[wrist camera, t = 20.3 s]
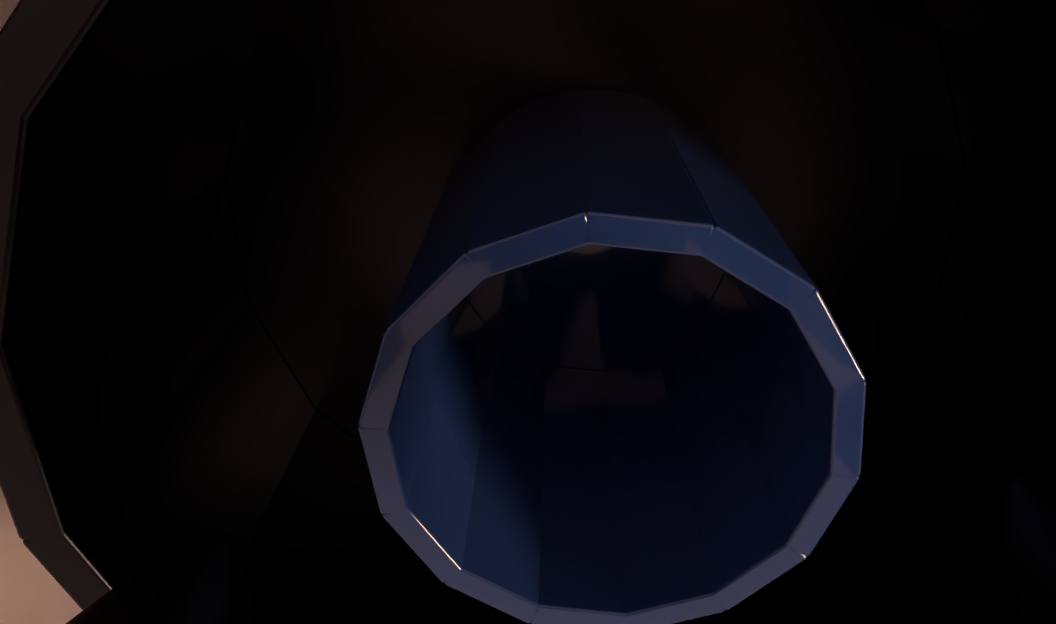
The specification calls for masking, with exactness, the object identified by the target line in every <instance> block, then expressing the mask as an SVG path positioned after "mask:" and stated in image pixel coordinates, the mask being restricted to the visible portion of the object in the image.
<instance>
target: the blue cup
mask: <svg viewBox="0 0 1056 624" xmlns="http://www.w3.org/2000/svg"><path fill="white" fill-rule="evenodd" d="M865 399H866V380H865V375H864V373H863V371H862V369H861V368H860V366H859V364H858V362H857V360H856V358H855V356H854V355H853V353H852V351H851V349H850V347H849V345H848V344H847V342H846V340H845V338H844V336H843V334H842V332H841V331H840V329H839V327H838V325H837V323H836V321H835V319H834V318H833V316H832V314H831V312H830V310H829V308H828V307H827V305H826V303H825V301H824V299H823V297H822V295H821V294H820V292H819V290H818V289H817V287H816V286H815V284H814V283H813V281H812V280H811V279H810V277H809V276H808V274H807V273H806V271H805V270H804V268H803V267H802V266H801V264H800V263H799V261H798V260H797V258H796V257H795V256H794V254H793V253H792V251H791V250H790V248H789V247H788V246H787V244H786V243H785V241H784V240H783V238H782V237H781V236H780V234H779V233H778V231H777V230H776V228H775V227H774V226H773V224H772V223H771V221H770V220H769V218H768V217H767V216H766V214H765V213H764V211H763V210H762V208H761V207H760V206H759V204H758V203H757V201H756V200H755V198H754V197H753V196H752V194H751V193H750V191H749V190H748V188H747V187H746V186H745V184H744V183H743V181H742V180H741V178H740V177H739V176H738V174H737V173H736V171H735V170H734V168H733V167H732V165H731V164H730V163H729V161H728V160H727V158H726V157H725V155H724V154H723V153H722V151H721V150H720V148H719V147H718V145H717V144H716V143H715V142H714V141H713V140H712V138H710V137H709V136H707V135H706V134H704V133H703V132H701V131H700V130H699V129H698V128H697V127H696V126H695V125H694V124H693V123H691V122H690V121H689V120H687V119H686V118H684V117H683V116H682V115H680V114H679V113H677V112H676V111H674V110H672V109H670V108H669V107H667V106H665V105H663V104H661V103H659V102H657V101H654V100H651V99H648V98H645V97H643V96H640V95H637V94H633V93H627V92H622V91H617V90H607V89H582V90H570V91H566V92H561V93H556V94H551V95H548V96H545V97H542V98H540V99H537V100H534V101H531V102H529V103H527V104H525V105H523V106H521V107H519V108H517V109H515V110H513V111H511V112H510V113H508V114H507V115H505V116H504V117H503V118H501V119H500V120H498V121H497V122H495V123H494V124H493V125H492V126H491V127H490V128H488V129H487V130H486V131H485V132H484V133H483V134H482V135H481V136H480V137H479V138H478V139H477V140H476V141H475V143H474V144H473V145H472V146H471V147H470V149H469V150H468V151H467V152H466V154H465V155H464V157H463V158H462V160H461V161H460V162H459V163H458V164H457V165H456V166H455V167H454V168H453V170H452V172H451V173H450V176H449V178H448V180H447V183H446V185H445V188H444V190H443V192H442V195H441V197H440V199H439V202H438V204H437V207H436V209H435V211H434V214H433V216H432V219H431V221H430V223H429V226H428V228H427V230H426V233H425V235H424V238H423V240H422V242H421V245H420V247H419V250H418V252H417V254H416V257H415V259H414V261H413V264H412V266H411V269H410V271H409V273H408V276H407V278H406V280H405V283H404V285H403V288H402V290H401V292H400V295H399V297H398V300H397V302H396V304H395V307H394V309H393V311H392V314H391V316H390V319H389V321H388V323H387V326H386V328H385V331H384V333H383V336H382V340H381V343H380V347H379V350H378V354H377V357H376V361H375V364H374V368H373V371H372V375H371V378H370V382H369V385H368V388H367V392H366V395H365V399H364V402H363V406H362V409H361V413H360V416H359V420H358V425H359V426H358V430H359V434H360V438H361V441H362V445H363V449H364V453H365V457H366V461H367V464H368V468H369V472H370V476H371V480H372V484H373V487H374V491H375V495H376V499H377V503H378V507H379V510H380V513H381V514H382V516H383V518H384V519H385V520H386V521H387V522H388V524H389V525H390V526H391V527H392V528H393V529H394V530H395V531H396V532H397V534H398V535H399V536H400V537H401V538H402V539H403V540H404V541H405V542H406V544H407V545H408V546H409V547H410V548H411V549H412V550H413V551H414V552H415V553H416V555H417V556H418V557H419V558H420V559H421V560H422V561H423V562H424V563H425V565H426V566H427V567H428V568H429V569H430V570H431V571H432V572H433V573H434V575H435V576H436V577H437V578H438V579H439V580H440V581H441V582H444V584H445V585H447V586H449V587H451V588H453V589H455V590H457V591H459V592H462V593H464V594H466V595H468V596H470V597H472V598H474V599H476V600H479V601H481V602H483V603H485V604H487V605H489V606H491V607H493V608H496V609H498V610H500V611H502V612H504V613H506V614H508V615H510V616H513V617H515V618H517V619H519V620H521V621H523V622H525V623H531V624H675V623H679V622H683V621H687V620H692V619H696V618H700V617H705V616H709V615H713V614H717V613H722V612H724V611H725V610H729V609H731V608H732V607H734V606H735V605H737V604H738V603H740V602H741V601H743V600H744V599H746V598H747V597H749V596H750V595H752V594H753V593H755V592H756V591H758V590H760V589H761V588H763V587H764V586H766V585H767V584H769V583H770V582H772V581H773V580H775V579H776V578H778V577H779V576H781V575H782V574H784V573H786V572H787V571H789V570H790V569H792V568H793V567H795V566H796V565H798V564H799V563H801V562H802V561H804V560H805V559H806V558H807V556H809V555H810V554H811V553H812V551H813V550H814V548H815V546H816V545H817V543H818V542H819V540H820V539H821V537H822V536H823V534H824V533H825V531H826V529H827V528H828V526H829V525H830V523H831V522H832V520H833V519H834V517H835V516H836V514H837V512H838V511H839V509H840V508H841V506H842V505H843V503H844V502H845V500H846V499H847V497H848V495H849V494H850V492H851V491H852V489H853V488H854V486H855V485H856V483H857V482H858V480H859V476H860V474H861V461H862V446H863V430H864V414H865Z"/></svg>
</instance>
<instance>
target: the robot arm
mask: <svg viewBox="0 0 1056 624" xmlns="http://www.w3.org/2000/svg"><path fill="white" fill-rule="evenodd" d="M998 557H999V563H1000V567H1001V570H1002V573H1003V576H1004V578H1005V580H1006V583H1007V585H1008V587H1009V589H1010V592H1011V594H1012V596H1013V599H1014V601H1015V603H1016V605H1017V608H1018V610H1019V612H1020V614H1021V617H1022V619H1023V621H1024V623H1025V624H1056V472H1052V473H1038V474H1025V475H1020V476H1018V477H1016V478H1014V479H1013V480H1012V482H1011V483H1010V485H1009V489H1008V492H1007V498H1006V504H1005V509H1004V515H1003V521H1002V526H1001V532H1000V538H999V543H998ZM252 620H253V600H252V595H251V592H250V589H249V586H248V583H247V581H246V578H245V575H244V572H243V570H242V567H241V564H240V561H239V558H238V556H237V553H236V550H235V547H234V545H233V543H232V541H231V540H230V539H229V537H228V536H226V535H224V534H221V533H214V534H200V535H189V536H184V537H182V538H180V539H178V540H177V541H175V542H174V543H172V544H171V545H170V546H168V547H167V548H166V549H165V550H163V551H162V552H161V553H159V554H158V555H157V556H155V557H154V558H153V559H151V560H150V561H149V562H147V563H146V564H145V565H143V566H142V567H141V568H139V569H138V570H137V571H135V572H134V573H133V574H131V575H130V576H129V577H127V578H126V579H125V580H123V581H122V582H121V583H119V584H118V585H117V586H115V587H114V588H113V589H111V590H110V591H109V592H107V593H106V594H105V595H103V596H102V597H101V598H99V599H98V600H97V601H95V602H94V603H93V604H91V605H90V606H89V607H87V608H86V609H85V610H83V611H82V612H81V613H79V614H78V615H77V616H75V617H74V618H73V619H71V620H70V621H69V622H67V623H66V624H252Z"/></svg>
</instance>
